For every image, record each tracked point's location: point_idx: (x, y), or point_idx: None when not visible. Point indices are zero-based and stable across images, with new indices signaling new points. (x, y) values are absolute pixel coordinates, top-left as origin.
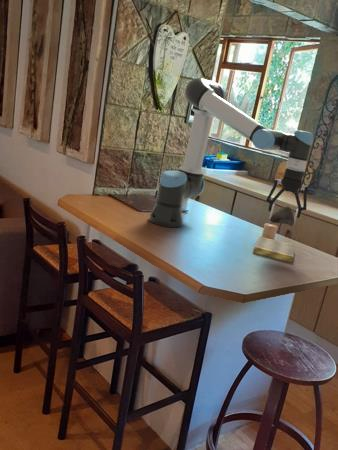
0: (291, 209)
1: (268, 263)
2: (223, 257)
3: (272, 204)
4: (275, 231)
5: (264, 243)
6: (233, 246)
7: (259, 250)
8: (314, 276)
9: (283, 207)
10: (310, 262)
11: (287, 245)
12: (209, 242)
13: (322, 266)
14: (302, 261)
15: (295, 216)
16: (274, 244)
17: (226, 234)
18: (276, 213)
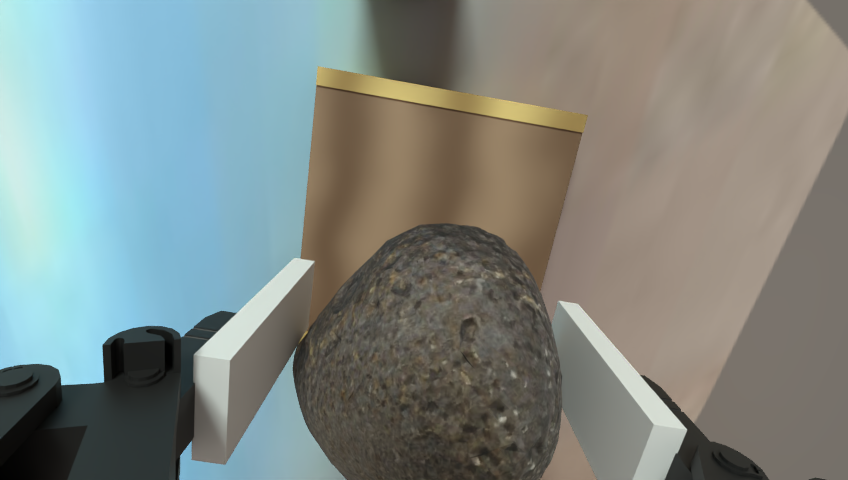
0: (538, 474)
1: None
2: None
3: (192, 432)
4: None
5: (357, 227)
6: (191, 290)
7: None
8: (585, 473)
9: (396, 471)
10: (632, 286)
11: (526, 156)
12: (58, 309)
13: (689, 312)
14: (582, 298)
15: (585, 436)
16: (428, 201)
17: (103, 50)
18: (323, 451)
